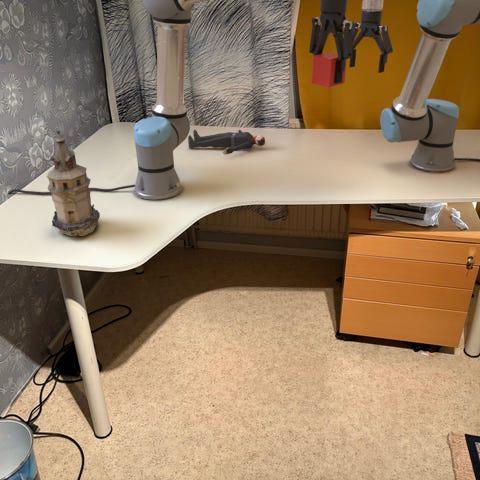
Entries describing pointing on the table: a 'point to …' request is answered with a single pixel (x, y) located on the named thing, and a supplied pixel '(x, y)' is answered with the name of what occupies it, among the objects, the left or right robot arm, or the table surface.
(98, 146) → the table surface
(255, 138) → the toy
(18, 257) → the table surface
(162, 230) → the table surface
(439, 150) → the right robot arm
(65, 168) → the miniature building
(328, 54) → the red cube
